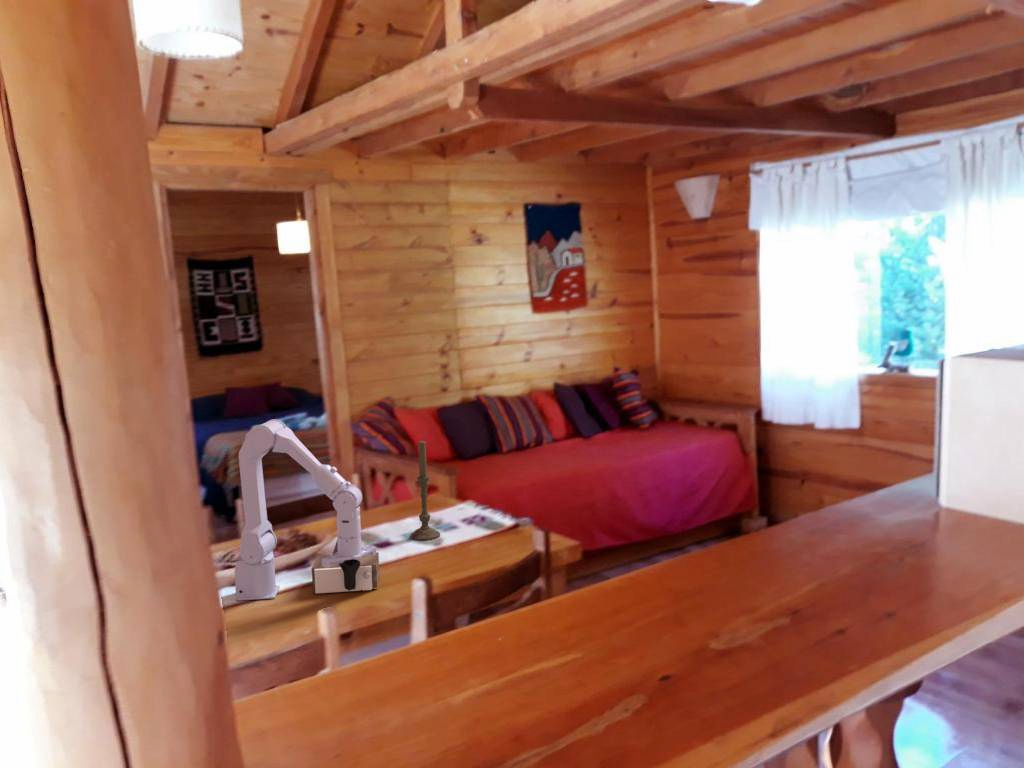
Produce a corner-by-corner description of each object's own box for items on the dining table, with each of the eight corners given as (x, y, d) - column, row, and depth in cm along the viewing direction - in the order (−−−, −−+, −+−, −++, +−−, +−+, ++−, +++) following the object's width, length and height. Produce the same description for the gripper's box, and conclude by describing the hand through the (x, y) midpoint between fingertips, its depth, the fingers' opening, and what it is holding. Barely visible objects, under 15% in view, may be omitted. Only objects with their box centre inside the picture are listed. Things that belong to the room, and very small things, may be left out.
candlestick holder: (407, 533, 260) (404, 438, 256) (436, 530, 262) (433, 435, 259) (413, 542, 251) (409, 443, 247) (443, 538, 254) (439, 440, 250)
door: (315, 595, 209) (313, 571, 208) (316, 592, 211) (314, 568, 210) (372, 591, 210) (371, 568, 210) (372, 588, 212) (371, 565, 212)
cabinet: (313, 593, 211) (311, 568, 210) (318, 579, 221) (316, 555, 220) (377, 589, 212) (376, 564, 212) (379, 576, 222) (378, 552, 222)
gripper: (332, 545, 199) (334, 600, 201) (382, 532, 209) (384, 585, 211) (316, 539, 204) (318, 592, 206) (366, 527, 214) (367, 578, 216)
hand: (350, 588), depth 209 cm, fingers closed, pressing on door
